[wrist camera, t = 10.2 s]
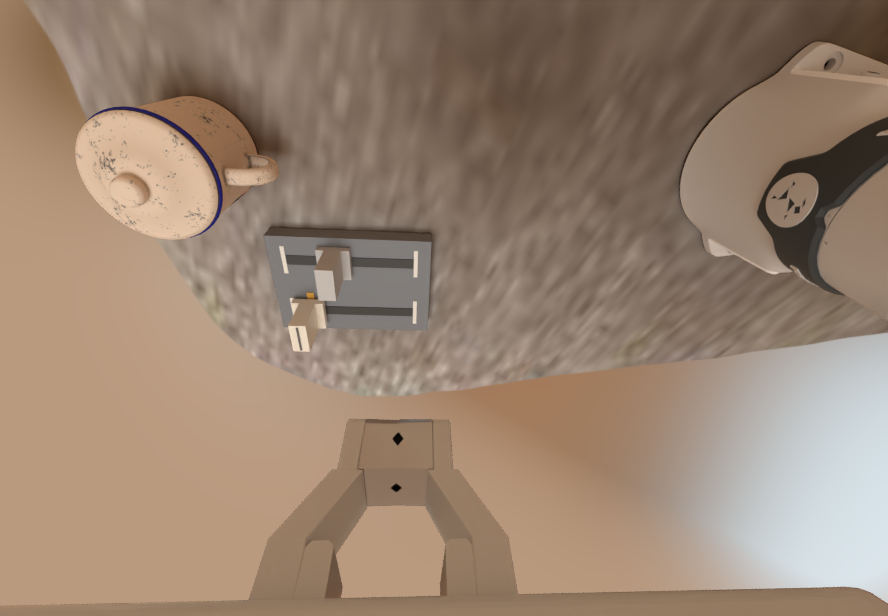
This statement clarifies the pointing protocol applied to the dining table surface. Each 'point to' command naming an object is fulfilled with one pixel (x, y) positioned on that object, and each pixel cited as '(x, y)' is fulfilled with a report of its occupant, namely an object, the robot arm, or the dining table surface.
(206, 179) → the teacup with lid
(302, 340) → the cap
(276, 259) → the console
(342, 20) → the dining table surface
